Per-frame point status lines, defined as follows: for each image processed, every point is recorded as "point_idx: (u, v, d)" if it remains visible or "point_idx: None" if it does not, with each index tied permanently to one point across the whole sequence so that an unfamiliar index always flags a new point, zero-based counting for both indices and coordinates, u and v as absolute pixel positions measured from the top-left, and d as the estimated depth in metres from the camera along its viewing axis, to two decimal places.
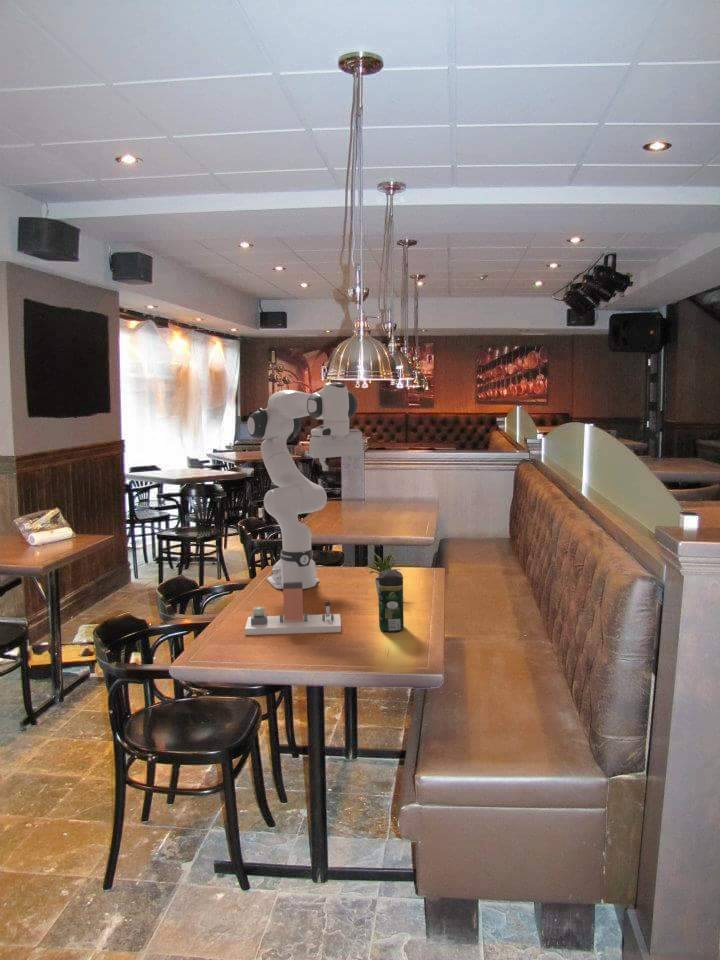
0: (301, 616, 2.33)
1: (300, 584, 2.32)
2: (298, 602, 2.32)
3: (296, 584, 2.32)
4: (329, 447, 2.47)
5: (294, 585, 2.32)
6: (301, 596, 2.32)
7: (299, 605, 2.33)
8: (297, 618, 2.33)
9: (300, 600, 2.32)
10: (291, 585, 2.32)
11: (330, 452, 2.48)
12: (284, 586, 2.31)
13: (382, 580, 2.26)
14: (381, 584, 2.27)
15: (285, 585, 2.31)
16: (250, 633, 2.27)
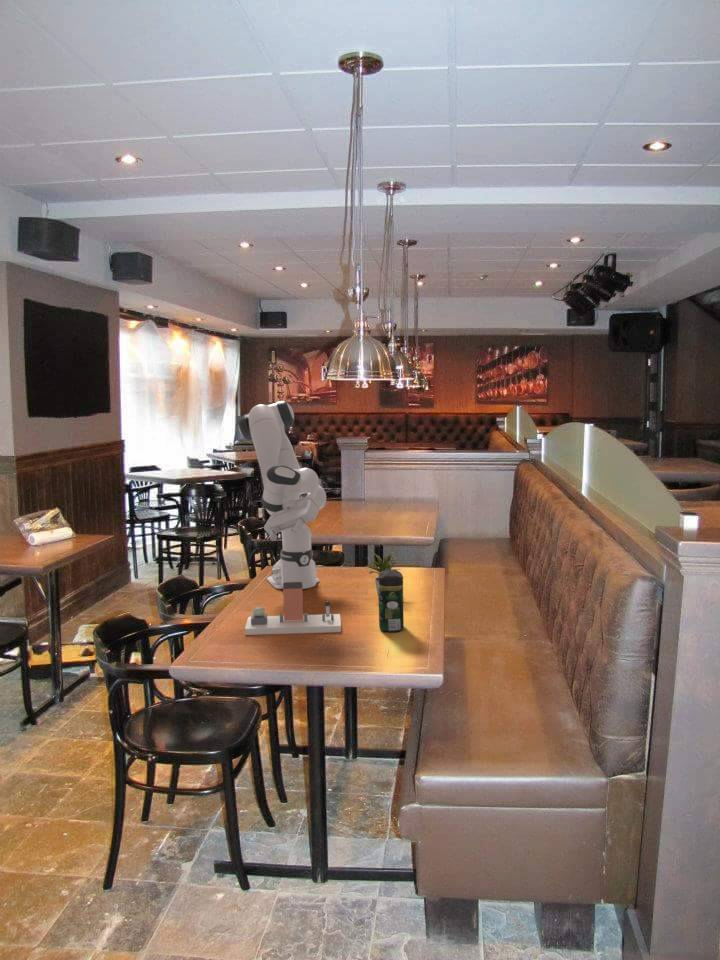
0: (301, 616, 2.33)
1: (300, 584, 2.32)
2: (298, 602, 2.32)
3: (296, 584, 2.32)
4: None
5: (294, 585, 2.32)
6: (301, 596, 2.32)
7: (299, 605, 2.33)
8: (297, 618, 2.33)
9: (300, 600, 2.32)
10: (291, 585, 2.32)
11: None
12: (284, 586, 2.31)
13: (382, 580, 2.26)
14: (381, 584, 2.27)
15: (285, 585, 2.31)
16: (250, 633, 2.27)
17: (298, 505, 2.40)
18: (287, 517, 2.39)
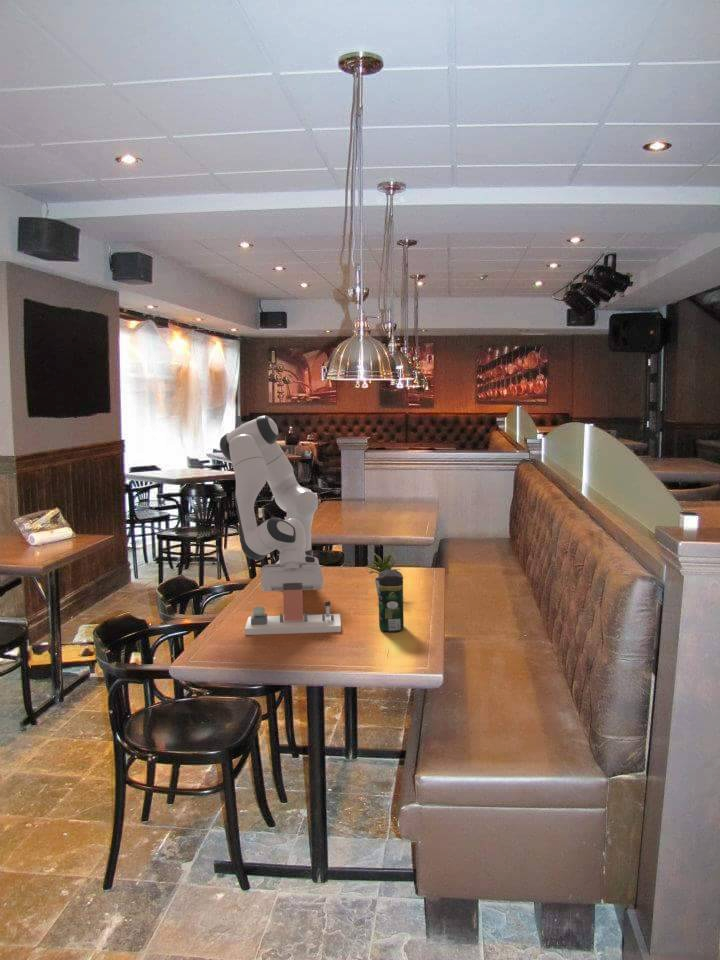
0: (301, 616, 2.33)
1: (300, 585, 2.31)
2: (298, 603, 2.32)
3: (296, 585, 2.31)
4: None
5: (294, 586, 2.31)
6: (301, 597, 2.32)
7: (299, 606, 2.32)
8: (297, 618, 2.33)
9: (300, 601, 2.32)
10: (291, 586, 2.31)
11: None
12: (284, 587, 2.30)
13: (382, 580, 2.26)
14: (381, 584, 2.27)
15: (285, 586, 2.30)
16: (250, 633, 2.27)
17: (303, 568, 2.39)
18: (294, 581, 2.36)
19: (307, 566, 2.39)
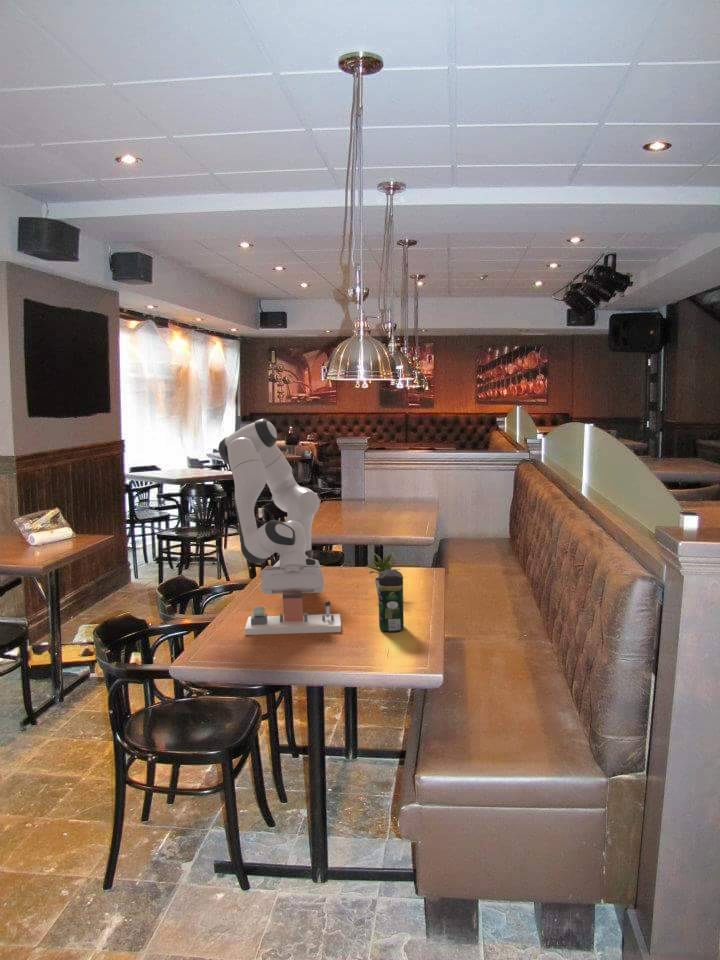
0: (301, 618, 2.33)
1: (300, 595, 2.27)
2: (298, 608, 2.30)
3: (296, 594, 2.26)
4: None
5: (294, 595, 2.27)
6: (301, 603, 2.29)
7: (299, 610, 2.31)
8: (297, 619, 2.33)
9: (300, 606, 2.30)
10: (291, 595, 2.26)
11: None
12: (283, 596, 2.26)
13: (382, 580, 2.26)
14: (381, 584, 2.27)
15: (284, 595, 2.26)
16: (250, 633, 2.27)
17: (304, 571, 2.36)
18: (294, 584, 2.34)
19: (308, 569, 2.36)
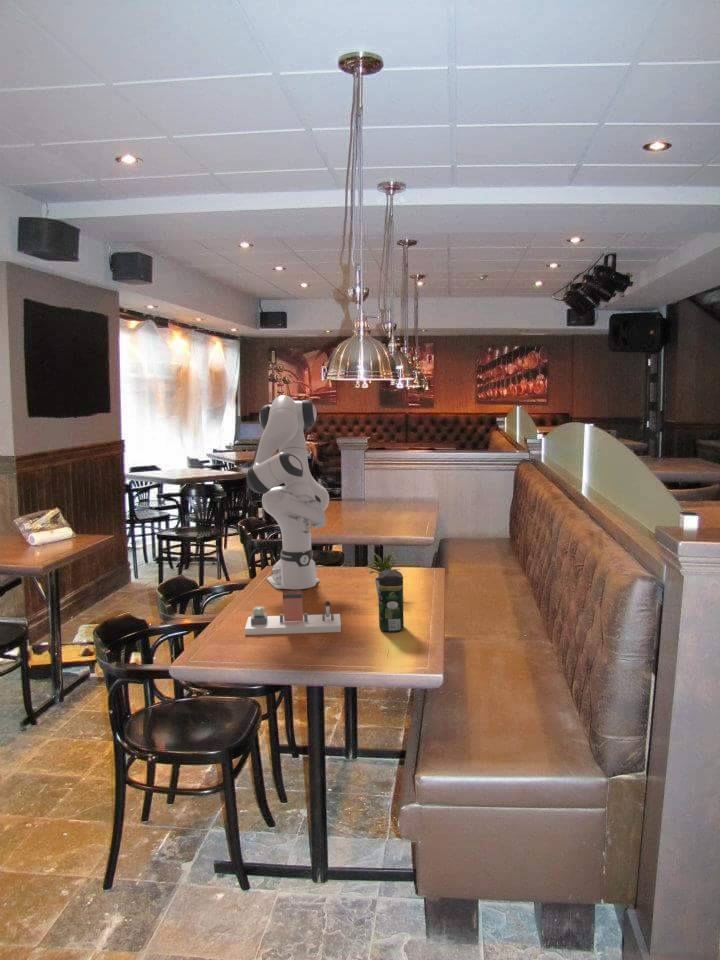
0: (301, 618, 2.33)
1: (300, 595, 2.26)
2: (298, 608, 2.30)
3: (296, 595, 2.26)
4: None
5: (294, 595, 2.27)
6: (301, 603, 2.29)
7: (299, 610, 2.31)
8: (297, 620, 2.33)
9: (300, 606, 2.30)
10: (291, 595, 2.26)
11: None
12: (283, 596, 2.26)
13: (382, 580, 2.26)
14: (381, 584, 2.27)
15: (284, 596, 2.26)
16: (250, 633, 2.27)
17: (312, 505, 2.51)
18: (307, 514, 2.46)
19: (315, 504, 2.52)
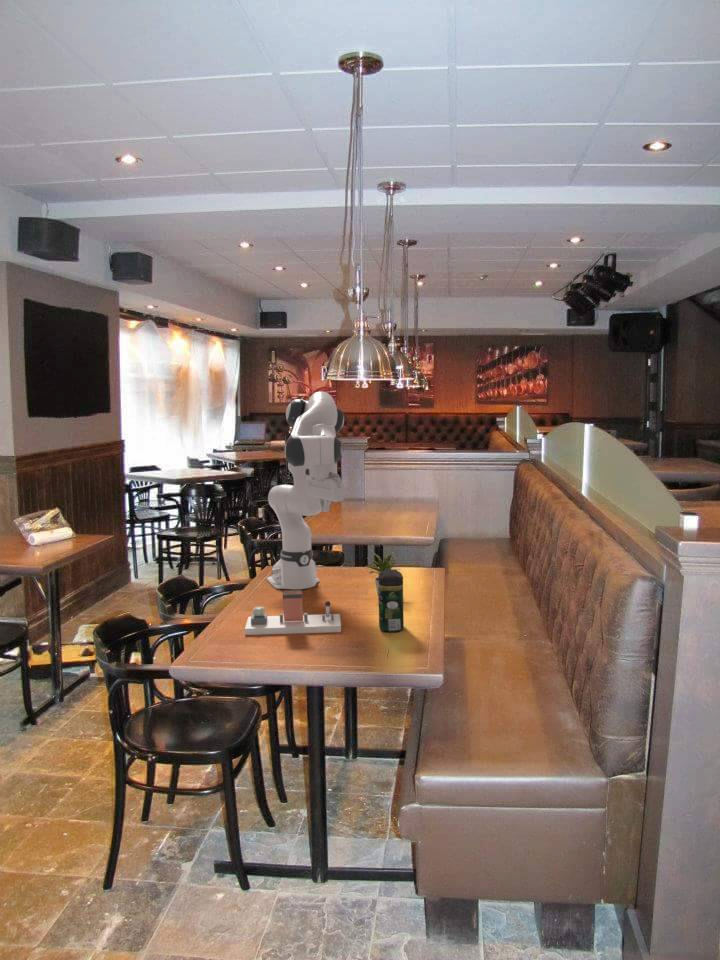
0: (301, 618, 2.33)
1: (300, 595, 2.26)
2: (298, 608, 2.30)
3: (296, 595, 2.26)
4: (313, 487, 2.51)
5: (294, 595, 2.27)
6: (301, 603, 2.29)
7: (299, 610, 2.31)
8: (297, 620, 2.33)
9: (300, 606, 2.30)
10: (291, 595, 2.26)
11: (314, 492, 2.51)
12: (283, 596, 2.26)
13: (382, 580, 2.26)
14: (381, 584, 2.27)
15: (284, 596, 2.26)
16: (250, 633, 2.27)
17: None
18: None
19: None
